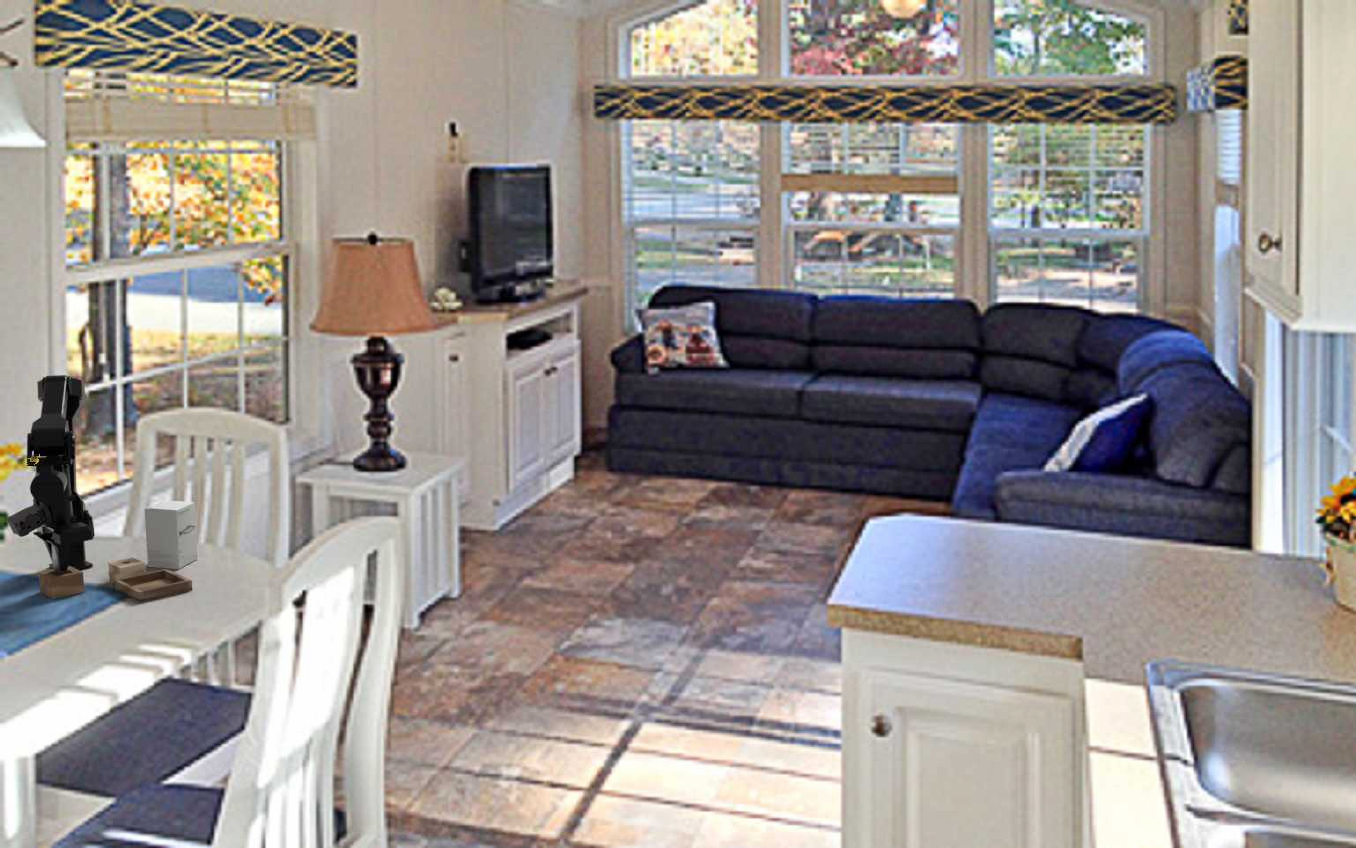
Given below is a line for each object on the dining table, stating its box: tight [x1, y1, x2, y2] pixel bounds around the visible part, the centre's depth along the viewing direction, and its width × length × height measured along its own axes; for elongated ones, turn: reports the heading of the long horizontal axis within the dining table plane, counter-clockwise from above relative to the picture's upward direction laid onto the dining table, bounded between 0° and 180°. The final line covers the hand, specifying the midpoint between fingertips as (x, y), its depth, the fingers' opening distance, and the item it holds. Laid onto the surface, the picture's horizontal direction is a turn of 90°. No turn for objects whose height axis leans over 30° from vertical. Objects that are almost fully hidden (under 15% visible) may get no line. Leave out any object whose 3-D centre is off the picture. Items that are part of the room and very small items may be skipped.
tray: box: [113, 568, 193, 603], centre depth 262 cm, size 11×11×2 cm
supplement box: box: [144, 500, 198, 570], centre depth 278 cm, size 7×7×13 cm
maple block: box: [107, 557, 146, 584], centre depth 267 cm, size 5×5×4 cm
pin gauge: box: [51, 536, 68, 576], centre depth 259 cm, size 2×2×8 cm
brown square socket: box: [38, 566, 85, 600], centre depth 260 cm, size 6×6×4 cm
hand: (60, 569), depth 260 cm, fingers closed on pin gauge, 2 cm apart
